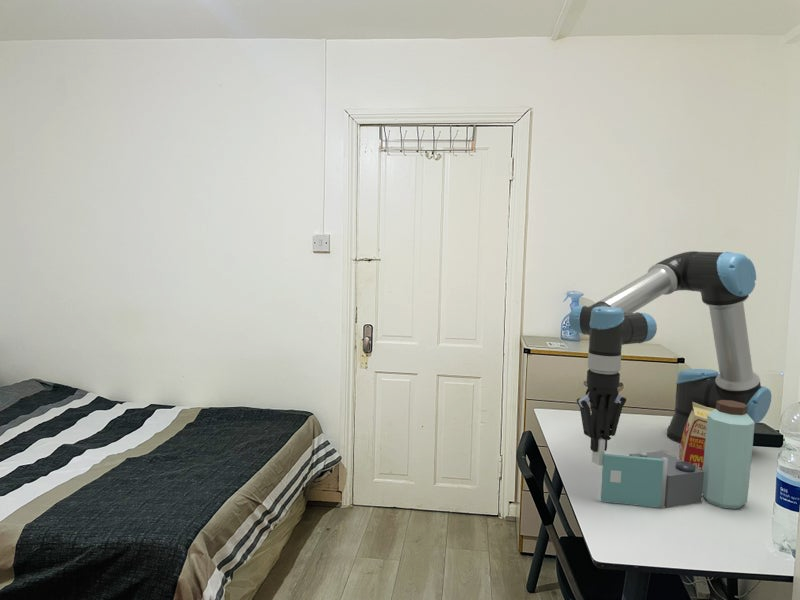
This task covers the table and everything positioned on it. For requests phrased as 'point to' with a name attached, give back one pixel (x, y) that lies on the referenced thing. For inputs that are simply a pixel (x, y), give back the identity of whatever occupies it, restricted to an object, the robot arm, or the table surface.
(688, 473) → the camera body
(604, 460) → the side door
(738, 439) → the water bottle
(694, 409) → the milk carton
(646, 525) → the table surface
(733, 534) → the table surface
